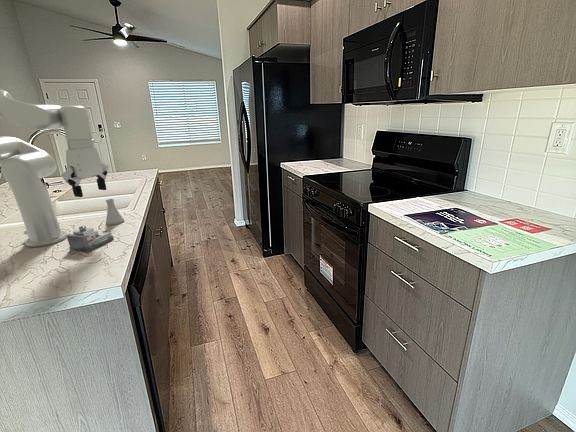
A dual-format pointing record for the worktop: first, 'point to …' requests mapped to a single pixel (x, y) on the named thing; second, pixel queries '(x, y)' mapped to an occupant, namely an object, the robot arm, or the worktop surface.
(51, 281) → the worktop surface
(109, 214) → the flask
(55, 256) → the worktop surface
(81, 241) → the base
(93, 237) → the knobbed grey cube
